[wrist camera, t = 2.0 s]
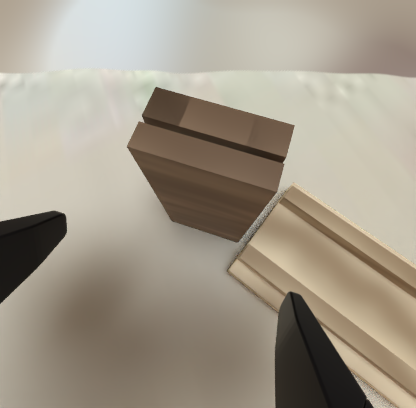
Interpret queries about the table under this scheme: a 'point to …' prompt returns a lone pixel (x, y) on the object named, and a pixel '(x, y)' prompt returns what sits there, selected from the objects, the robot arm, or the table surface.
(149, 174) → the walnut photo frame
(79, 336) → the table surface
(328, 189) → the table surface
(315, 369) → the robot arm
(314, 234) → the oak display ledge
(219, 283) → the table surface
